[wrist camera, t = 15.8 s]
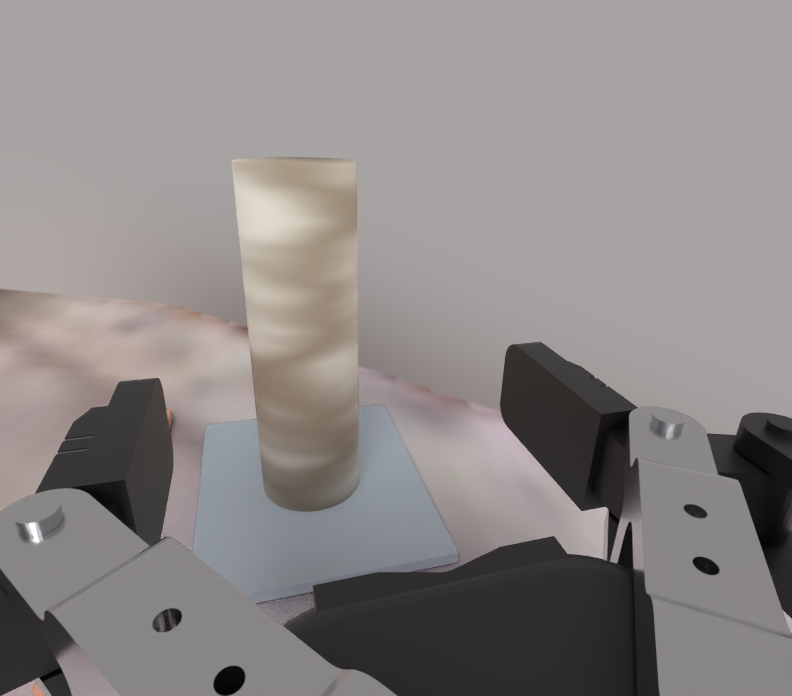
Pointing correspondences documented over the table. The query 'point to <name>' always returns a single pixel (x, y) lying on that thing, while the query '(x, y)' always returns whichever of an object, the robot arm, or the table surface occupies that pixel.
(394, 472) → the mat
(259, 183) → the beige tall cylinder
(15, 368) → the table surface
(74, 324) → the table surface
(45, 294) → the table surface
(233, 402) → the table surface
